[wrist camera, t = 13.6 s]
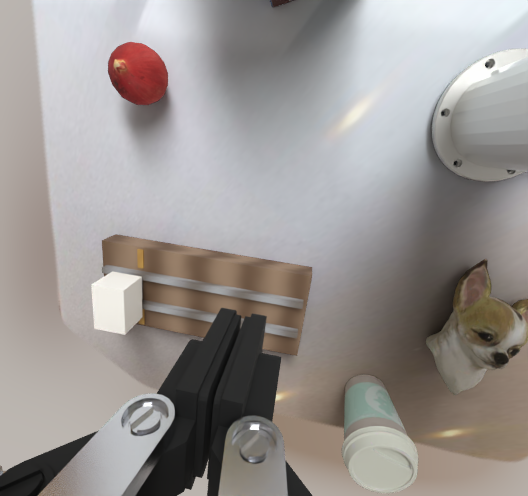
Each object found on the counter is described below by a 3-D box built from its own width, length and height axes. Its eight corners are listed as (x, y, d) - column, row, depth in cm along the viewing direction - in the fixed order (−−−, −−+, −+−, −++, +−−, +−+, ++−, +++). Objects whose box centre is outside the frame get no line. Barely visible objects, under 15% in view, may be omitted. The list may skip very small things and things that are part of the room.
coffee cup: (404, 402, 45) (435, 487, 34) (350, 418, 48) (362, 503, 36) (380, 358, 43) (404, 432, 32) (325, 377, 46) (330, 452, 35)
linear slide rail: (312, 267, 41) (312, 279, 37) (297, 342, 45) (296, 360, 41) (115, 234, 43) (97, 242, 40) (118, 307, 47) (102, 321, 44)
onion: (155, 119, 38) (116, 112, 30) (123, 78, 37) (74, 61, 29) (188, 85, 36) (156, 69, 28) (156, 41, 35) (113, 13, 27)
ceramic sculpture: (419, 383, 34) (514, 273, 29) (395, 340, 42) (467, 249, 38) (501, 427, 34) (607, 325, 30) (461, 376, 42) (540, 290, 38)
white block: (149, 270, 41) (123, 290, 35) (149, 309, 43) (125, 334, 37) (121, 265, 41) (91, 284, 35) (122, 304, 43) (94, 328, 37)
